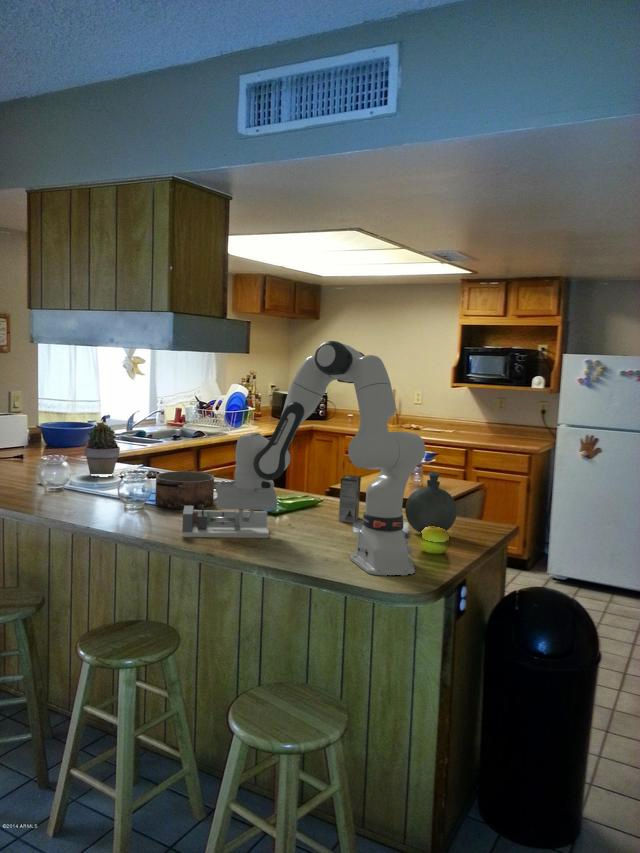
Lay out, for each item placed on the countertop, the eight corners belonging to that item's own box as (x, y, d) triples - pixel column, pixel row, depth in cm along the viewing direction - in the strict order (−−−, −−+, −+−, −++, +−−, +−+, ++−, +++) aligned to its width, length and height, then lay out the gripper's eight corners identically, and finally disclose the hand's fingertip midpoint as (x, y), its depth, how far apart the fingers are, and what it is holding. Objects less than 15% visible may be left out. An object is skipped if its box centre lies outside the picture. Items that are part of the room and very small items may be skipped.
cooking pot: (187, 514, 253) (188, 485, 252) (137, 506, 261) (138, 478, 260) (228, 500, 281) (229, 474, 280) (182, 493, 289) (182, 468, 288)
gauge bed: (268, 537, 227) (270, 515, 226) (182, 536, 223) (183, 514, 222) (266, 528, 239) (267, 507, 238) (183, 527, 234) (184, 505, 234)
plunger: (239, 529, 228) (239, 514, 228) (210, 529, 227) (210, 514, 226) (238, 524, 234) (239, 510, 234) (210, 524, 233) (210, 509, 232)
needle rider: (206, 528, 227) (207, 507, 226) (197, 528, 227) (198, 507, 226) (206, 524, 232) (207, 504, 231) (197, 524, 232) (198, 503, 231)
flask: (446, 542, 234) (451, 478, 231) (400, 533, 242) (404, 471, 240) (458, 535, 244) (462, 474, 241) (413, 527, 252) (417, 467, 250)
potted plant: (113, 470, 330) (114, 418, 328) (127, 477, 315) (129, 423, 312) (75, 472, 320) (75, 419, 317) (87, 480, 304) (88, 424, 302)
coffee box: (342, 515, 264) (344, 474, 262) (358, 517, 262) (361, 475, 261) (338, 521, 255) (340, 478, 253) (355, 523, 254) (357, 480, 252)
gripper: (216, 482, 225) (214, 523, 227) (278, 484, 229) (276, 524, 230) (216, 478, 232) (214, 519, 233) (276, 480, 235) (274, 520, 236)
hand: (245, 521), depth 232 cm, fingers closed
